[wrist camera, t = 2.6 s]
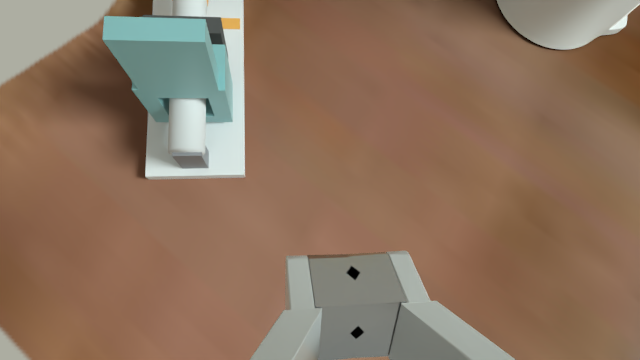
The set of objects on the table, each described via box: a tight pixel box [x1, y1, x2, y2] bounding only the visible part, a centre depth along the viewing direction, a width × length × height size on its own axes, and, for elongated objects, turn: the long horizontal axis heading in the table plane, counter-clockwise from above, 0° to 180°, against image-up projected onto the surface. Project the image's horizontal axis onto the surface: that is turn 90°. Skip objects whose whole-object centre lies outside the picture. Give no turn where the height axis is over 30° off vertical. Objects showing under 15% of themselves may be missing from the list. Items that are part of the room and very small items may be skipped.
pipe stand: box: [145, 0, 245, 179], centre depth 38 cm, size 24×9×7 cm, turn 3°
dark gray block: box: [143, 15, 228, 57], centre depth 36 cm, size 2×6×6 cm, turn 92°
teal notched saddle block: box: [103, 16, 233, 122], centre depth 32 cm, size 4×7×14 cm, turn 93°
